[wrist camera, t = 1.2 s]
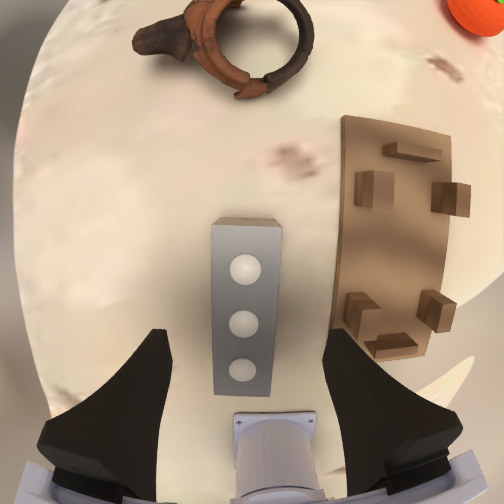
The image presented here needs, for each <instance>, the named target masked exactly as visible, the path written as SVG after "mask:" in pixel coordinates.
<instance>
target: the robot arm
mask: <svg viewBox="0 0 504 504" xmlns="http://www.w3.org/2000/svg"><path fill="white" fill-rule="evenodd" d="M322 362H323V368H324V374H325V379H326V382H327V386H328V389H329V392H330V395H331V398H332V402H333V405H334V408H335V411H336V414H337V417H338V421H339V425H340V431H341V437H342V442H343V450H344V457H345V466H346V478H347V497H346V498H341V499H336V498H334V497H332V498H327V500H326V497H325V493H324V489H320V487H319V482H318V478H317V473H316V468H315V464H314V459H313V455H312V450H311V441H312V436H313V432H314V427H315V423H316V418H317V416H316V413H315V412H302V413H278V414H241V413H238V414H235V415H234V418H233V422H234V457H235V468H236V469H237V476H236V498H235V499H230V504H466V503H467V502H469V501H471V500H472V499H474V498H476V497H477V496H479V495H480V494H482V493H483V492H485V491H486V490H488V485H487V482H486V480H485V477H484V475H483V473H482V470H481V468H480V466H479V464H478V461H477V459H476V457H475V454H474V452H473V450H469V451H467V452H465V453H462V454H460V455H458V456H456V457H454V458H453V459H451V460H449V461H448V459H447V456H448V455H449V451H448V447H449V445H451V444H452V443H453V442H454V440H456V438H457V437H458V436H459V435H460V434H461V432H462V430H463V426H462V424H461V422H460V420H459V418H458V416H457V414H456V413H455V412H454V411H451V410H449V409H446V408H444V407H441V406H439V405H436V404H434V403H432V402H430V401H428V400H426V399H424V398H423V397H421V396H419V395H417V394H416V393H414V392H412V391H411V390H409V389H408V388H406V387H405V386H403V385H402V384H401V383H399V382H398V381H397V380H395V379H394V378H393V377H391V376H390V375H389V374H388V373H387V372H385V371H384V370H383V369H382V368H381V367H380V366H379V365H378V364H377V363H376V362H374V361H373V360H372V359H371V358H370V357H369V356H368V355H367V354H366V353H365V351H364V350H363V349H362V348H361V347H360V346H359V345H358V344H357V343H356V342H355V341H354V340H353V339H352V337H351V336H350V335H349V334H348V333H347V332H346V331H345V330H344V329H343V328H336V329H330V331H329V335H328V339H327V343H326V347H325V351H324V355H323V359H322ZM172 363H173V360H172V356H171V351H170V346H169V341H168V336H167V331H166V330H165V329H152V330H151V331H150V333H149V334H148V335H147V337H146V338H145V339H144V341H143V342H142V343H141V344H140V346H139V347H138V348H137V349H136V351H135V352H134V353H133V354H132V356H131V357H130V358H129V359H128V360H127V361H126V363H125V364H124V365H123V366H122V367H121V368H120V369H119V370H118V371H117V372H116V373H115V374H114V375H113V376H112V377H111V378H110V379H109V380H108V381H107V382H106V383H105V384H104V385H103V386H102V387H101V388H99V389H98V390H97V391H96V392H94V393H93V394H92V395H91V396H89V397H88V398H87V399H85V400H84V401H82V402H81V403H79V404H78V405H76V406H75V407H73V408H71V409H70V410H68V411H66V412H64V413H63V414H61V415H58V416H56V417H54V418H52V419H50V420H48V421H46V423H45V425H44V427H43V429H42V432H41V435H40V438H39V440H38V443H37V448H38V450H39V451H40V453H41V454H42V455H43V456H44V457H46V458H47V459H48V460H49V461H50V462H51V463H52V464H53V465H55V466H56V467H55V471H54V472H53V471H52V470H50V469H48V468H46V467H43V466H41V465H39V464H36V463H34V462H32V461H29V460H28V461H27V463H26V466H25V469H24V472H23V475H22V478H21V481H20V484H19V488H18V491H17V495H16V498H15V501H14V503H15V504H163V503H156V464H157V449H158V438H159V428H160V423H161V418H162V414H163V410H164V405H165V401H166V397H167V393H168V389H169V385H170V380H171V372H172ZM311 419H312V420H311ZM237 421H241V422H237Z"/></svg>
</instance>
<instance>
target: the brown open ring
mask: <svg viewBox="0 0 504 504" xmlns="http://www.w3.org/2000/svg"><path fill="white" fill-rule="evenodd" d="M242 1H244V0H192V1H191V2H190V3H189V5H188V6H187V7H186V9H185V10H184V13H183V14H181V15H179V16H176V17H173V18H169V19H165V20H161V21H158V22H156V23H154V24H152V25H150V26H147V27H144V28H140V29H139V30H138V31H137V32H136V34H135V35H134V37H133V40H132V46H133V50H134V51H135V52H137V53H138V54H140V55H157V54H166V55H171V56H173V57H175V58H176V59H178V60H179V61H184V60H185V59H186V56H187V54H188V52H189V51H190V49H191V46H192V40H193V41H194V42H195V43H196V44H197V46H198V49H197V50H196V51H195V52H194V53H193V56H194V57H195V59H196V60H197V61H198V62H199V63H200V64H201V65H202V66H203V67H204V68H205V69H206V70H207V71H208V72H209V73H210V74H211V75H213V76H214V77H216V78H217V79H219V80H220V81H221V82H222V83H224V84H226V85H227V86H230V87H232V88H235V89H238V90H240V91H238V92H235V93H234V97H235V98H251V97H256V96H260V95H262V94H264V93H270V92H272V91H274V90H275V89H277V88H278V87H280V86H281V85H282V84H284V83H285V82H286V81H287V80H288V79H290V78H291V77H292V76H293V75H295V74H296V73H297V72H299V71H300V70H301V69H302V68H303V66H304V65H305V63H306V61H307V60H308V56H309V55H310V54H311V51H312V49H313V42H314V26H313V23H312V20H311V17H310V15H309V14H308V13H307V10H306V8H305V7H304V6H303V4H302V3H301V2H300V0H277V1H279V2H281V3H282V4H284V5H285V6H286V7H287V8H288V9H289V10H290V11H291V12H292V14H293V15H294V17H295V19H296V21H297V25H298V29H299V43H298V47H297V49H296V52H295V54H294V55H293V57H292V58H291V59H290V61H289V62H288V63H287V64H286V65H284V66H283V67H282V68H280V69H278V70H276V71H274V72H271V73H268V74H266V75H264V77H263V78H250V74H249V73H248V72H245V71H243V70H241V69H239V68H237V67H235V66H234V65H232V64H231V63H230V62H229V61H228V60H227V59H226V58H225V56H224V55H223V54H222V52H221V50H220V48H219V46H218V43H217V40H216V25H217V21H218V18H219V16H220V14H221V13H222V11H223V10H224V9H225V8H226V7H239V6H240V4H241V3H242Z"/></svg>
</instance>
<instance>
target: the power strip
mask: <svg viewBox="0 0 504 504" xmlns="http://www.w3.org/2000/svg"><path fill="white" fill-rule="evenodd" d="M281 237H282V227H281V226H280V224H279V223H278V222H277V221H276V220H275V219H250V218H219V219H218V220H217V221H216V222H215V223H214V224H213V225H212V351H213V383H214V395H227V396H253V397H270V390H271V379H272V368H273V356H274V343H275V330H276V317H277V303H278V288H279V272H280V255H281Z"/></svg>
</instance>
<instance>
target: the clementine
mask: <svg viewBox="0 0 504 504" xmlns="http://www.w3.org/2000/svg"><path fill="white" fill-rule="evenodd" d="M503 2H504V0H447V3H448V7H449V9H450V12H451V13H452V15H453V16H454V18H455V19H456V20H457V22H458V23H459V24H460V25H461V26H463V27H464V28H465V29H466V30H468V31H469V32H471V33H474V34H476V35H479V36H485V37H492V36H495V35H497V34H499V33H500V32H501V31H503V29H504V4H503Z"/></svg>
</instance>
